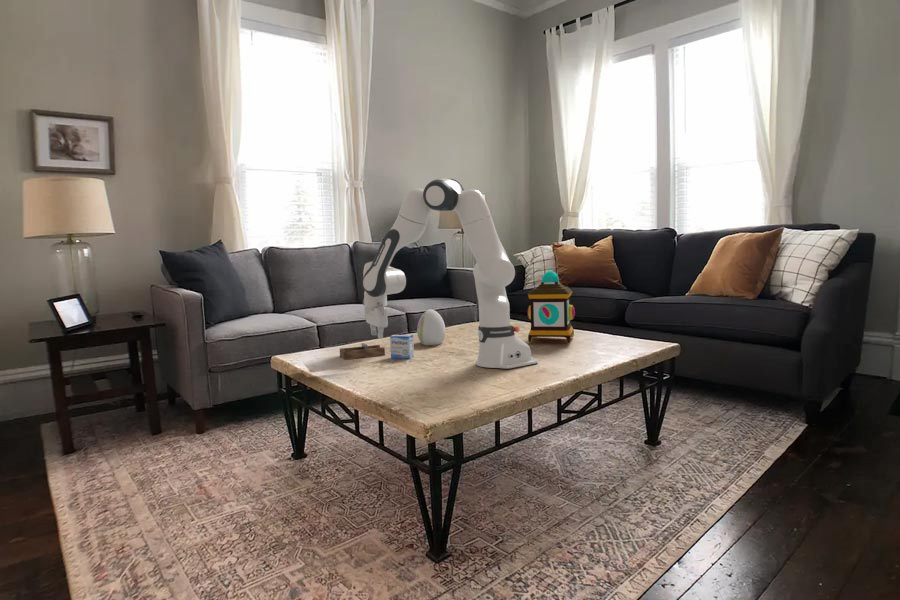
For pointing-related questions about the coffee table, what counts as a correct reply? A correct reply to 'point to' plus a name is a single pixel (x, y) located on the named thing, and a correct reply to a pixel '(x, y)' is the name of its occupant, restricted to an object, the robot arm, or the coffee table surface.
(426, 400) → the coffee table surface
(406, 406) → the coffee table surface
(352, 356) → the wooden tray
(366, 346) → the pusher
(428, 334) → the decorative egg
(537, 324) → the decorative lantern
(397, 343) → the medicine box
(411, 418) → the coffee table surface
